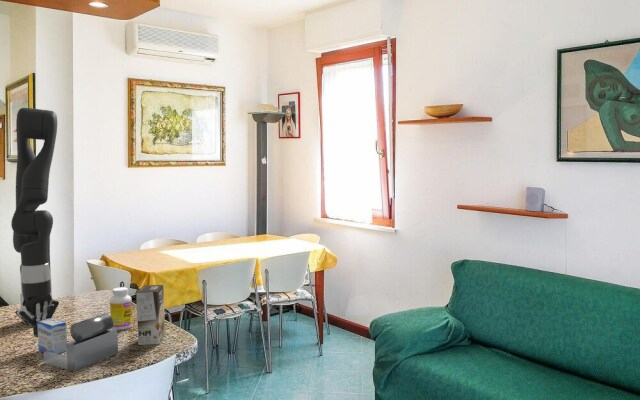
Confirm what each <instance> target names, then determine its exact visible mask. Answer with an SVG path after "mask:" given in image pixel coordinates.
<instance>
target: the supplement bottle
mask: <svg viewBox="0 0 640 400" xmlns="http://www.w3.org/2000/svg"><path fill="white" fill-rule="evenodd" d="M128 293H129V288H127V287H124V286H122V287H121V286H120V287H115V288H113V289H112V294H113V296H111V297H110V299H109V305H110V306H109V309H110V313H109V315H110V316H111V318H112V320H113V329H117V331H121V330H128V329H130V328H131V327H133V307H132V306H133V305H132V304H133V303H132V301H133V300H132V296H130V295H128Z"/></svg>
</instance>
